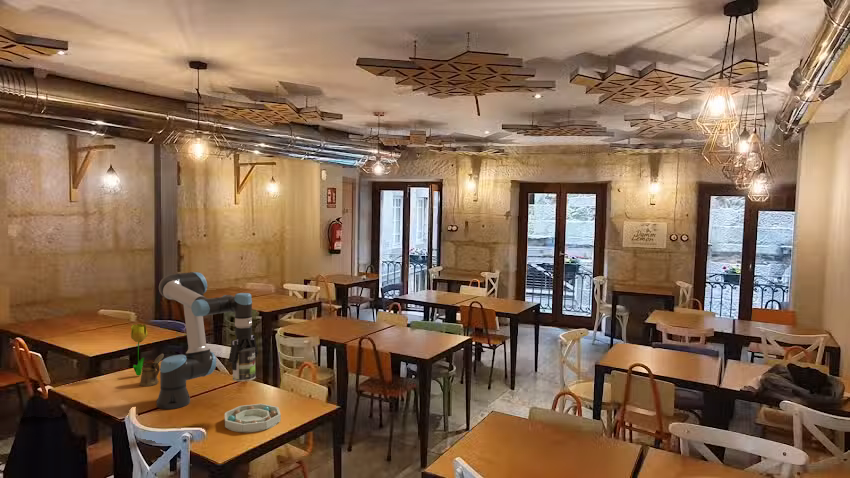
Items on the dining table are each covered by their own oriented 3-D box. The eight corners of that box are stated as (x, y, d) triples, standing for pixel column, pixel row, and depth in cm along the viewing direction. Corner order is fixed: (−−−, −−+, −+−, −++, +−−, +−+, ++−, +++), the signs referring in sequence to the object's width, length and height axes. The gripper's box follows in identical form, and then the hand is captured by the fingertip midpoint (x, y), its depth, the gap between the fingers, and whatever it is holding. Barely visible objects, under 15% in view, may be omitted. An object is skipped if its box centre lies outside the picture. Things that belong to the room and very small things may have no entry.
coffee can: (259, 375, 260) (259, 346, 260) (248, 382, 250) (248, 351, 250) (240, 374, 262) (239, 345, 262) (228, 380, 252) (227, 350, 252)
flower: (127, 378, 310) (126, 325, 308) (137, 373, 318) (136, 322, 316) (140, 379, 308) (140, 326, 306) (150, 375, 316) (150, 323, 314)
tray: (213, 426, 246) (213, 417, 245) (250, 408, 268) (250, 400, 267) (255, 436, 236) (255, 427, 236) (290, 417, 258) (290, 409, 258)
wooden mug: (156, 388, 294) (156, 355, 293) (135, 385, 298) (135, 352, 297) (168, 383, 303) (168, 351, 302) (148, 380, 306) (148, 348, 305)
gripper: (232, 331, 243) (232, 381, 244) (266, 322, 264) (266, 368, 265) (219, 330, 246) (220, 379, 247) (253, 321, 267) (254, 366, 268)
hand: (244, 373), depth 256 cm, fingers closed on coffee can, 10 cm apart
